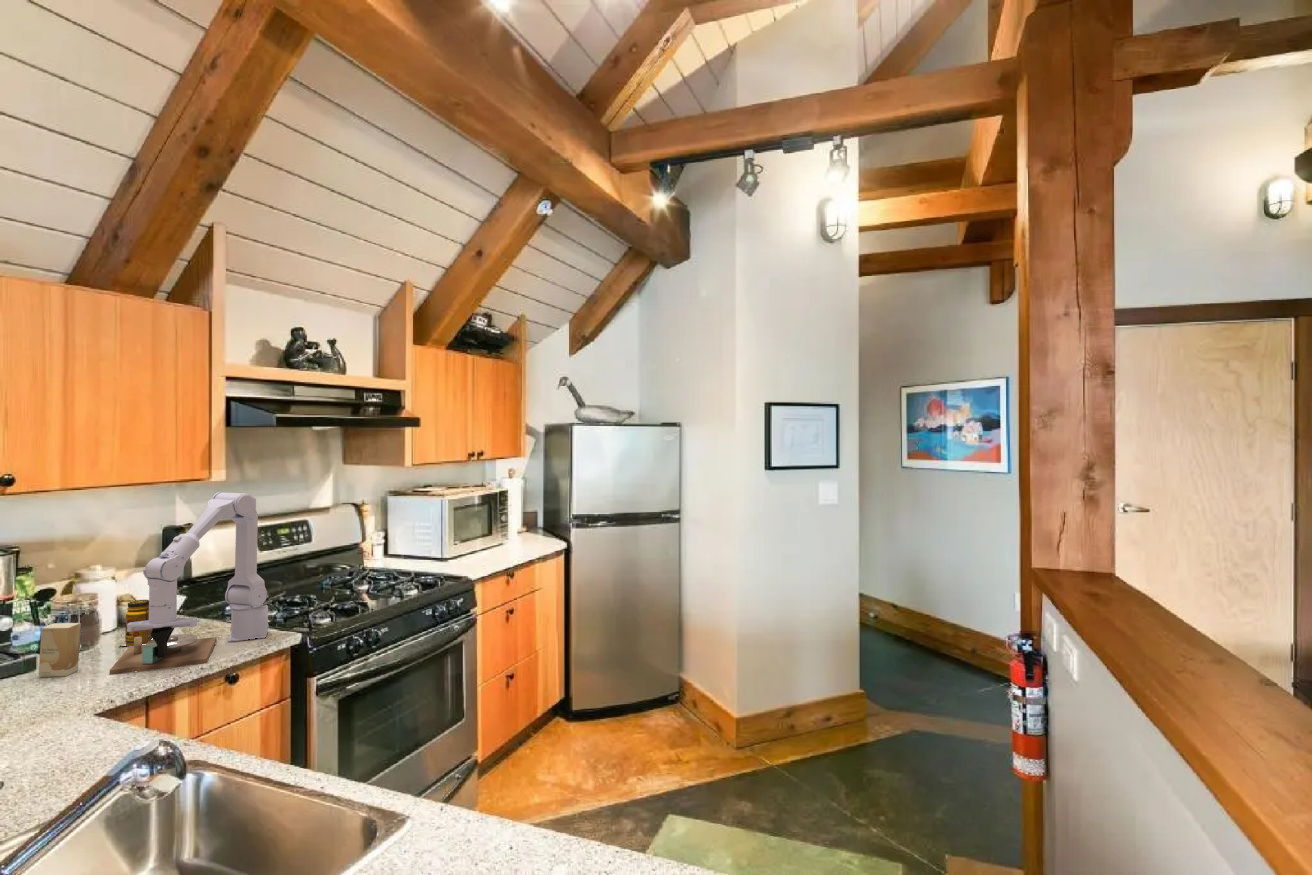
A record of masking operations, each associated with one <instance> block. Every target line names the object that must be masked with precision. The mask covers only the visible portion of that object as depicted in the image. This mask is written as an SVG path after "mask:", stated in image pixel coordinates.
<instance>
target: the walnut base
mask: <svg viewBox="0 0 1312 875" xmlns="http://www.w3.org/2000/svg"><path fill="white" fill-rule="evenodd" d="M217 638H218V637H217V636H214V637H213V636H212V637H206V638H205V637H204V638H197V641H196V642H195V643H193V644H190V645H187V646H184V647H179V648H174V649H167V655H166V656H165V657H164V658H162V659H160V660H158V661H156V662H154V663H152V664H142V651H143V648H144V647H146V645H142V637H135V638H134V646H129V647H127V649H126V650H125V651H124V652H123V654H122V655H121V656H120V657H119V658H118V660H116V662H115V663H114V664H113V666H112V667H111V668H110V669H109V676H113V675H118V674H127V673H128V674H129V673H135V671H137V672H143V671H144V672H146V671H151V670H159V669H160V668H162V669H168V668H169V667H170V668H177V667H184V666H185V667H186V666H193V665H200V664H202V665H203V664H207V663H208V661H209V659H210V657H211V655H210V654H212V653H213V650H214V648H215V646H214V645H216V644H217ZM215 643H216V644H215ZM213 647H214V648H213ZM160 670H161V669H160Z"/></svg>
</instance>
